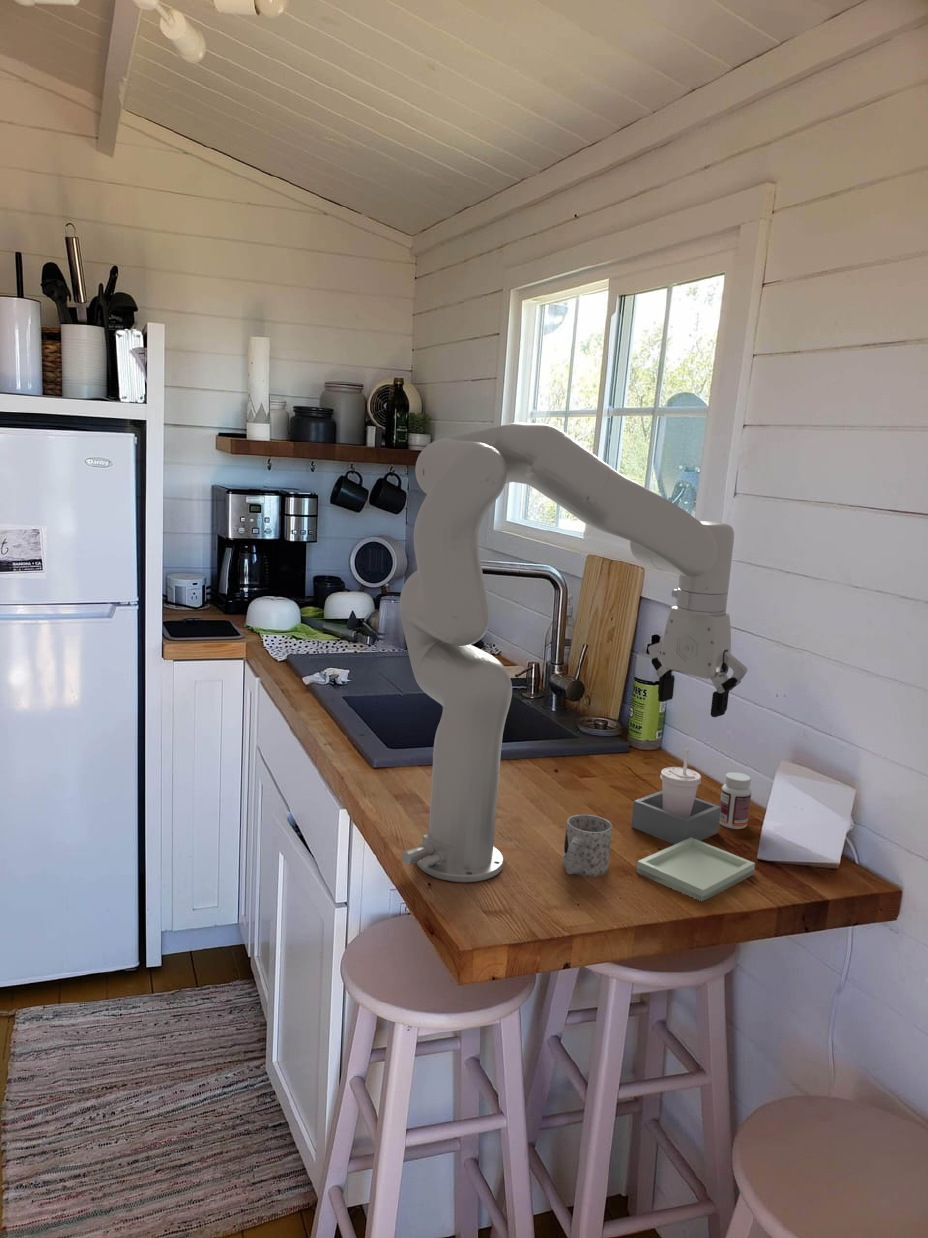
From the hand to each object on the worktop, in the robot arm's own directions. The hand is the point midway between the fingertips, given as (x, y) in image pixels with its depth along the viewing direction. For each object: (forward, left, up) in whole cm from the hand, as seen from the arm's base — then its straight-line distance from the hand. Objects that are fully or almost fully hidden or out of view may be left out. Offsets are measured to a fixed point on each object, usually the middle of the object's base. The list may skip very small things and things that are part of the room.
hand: (690, 707), depth 152 cm
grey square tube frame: (0, 0, -21) cm, 21 cm away
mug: (-24, 0, -21) cm, 32 cm away
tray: (-11, -11, -21) cm, 26 cm away
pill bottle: (+10, -4, -21) cm, 24 cm away
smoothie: (0, 0, -21) cm, 21 cm away
